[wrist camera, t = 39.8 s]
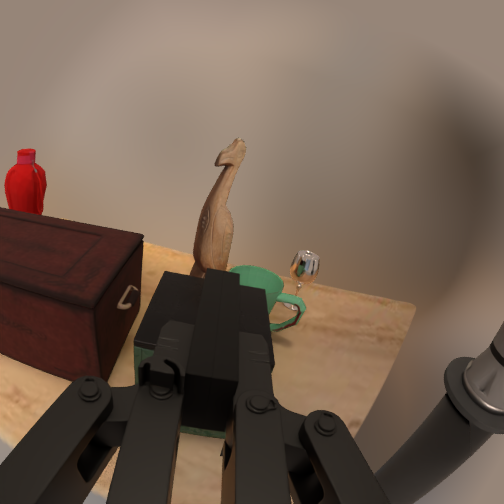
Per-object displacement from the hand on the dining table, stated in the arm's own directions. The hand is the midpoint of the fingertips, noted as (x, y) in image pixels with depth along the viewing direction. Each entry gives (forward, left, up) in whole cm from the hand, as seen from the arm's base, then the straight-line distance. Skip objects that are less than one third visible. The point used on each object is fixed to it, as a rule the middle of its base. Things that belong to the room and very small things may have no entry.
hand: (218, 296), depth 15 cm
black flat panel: (+8, -15, -13) cm, 21 cm away
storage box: (+38, -6, -27) cm, 47 cm away
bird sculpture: (+22, -35, -27) cm, 50 cm away
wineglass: (+7, -48, -27) cm, 56 cm away
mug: (+9, -34, -27) cm, 44 cm away
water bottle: (+59, -15, -27) cm, 67 cm away
